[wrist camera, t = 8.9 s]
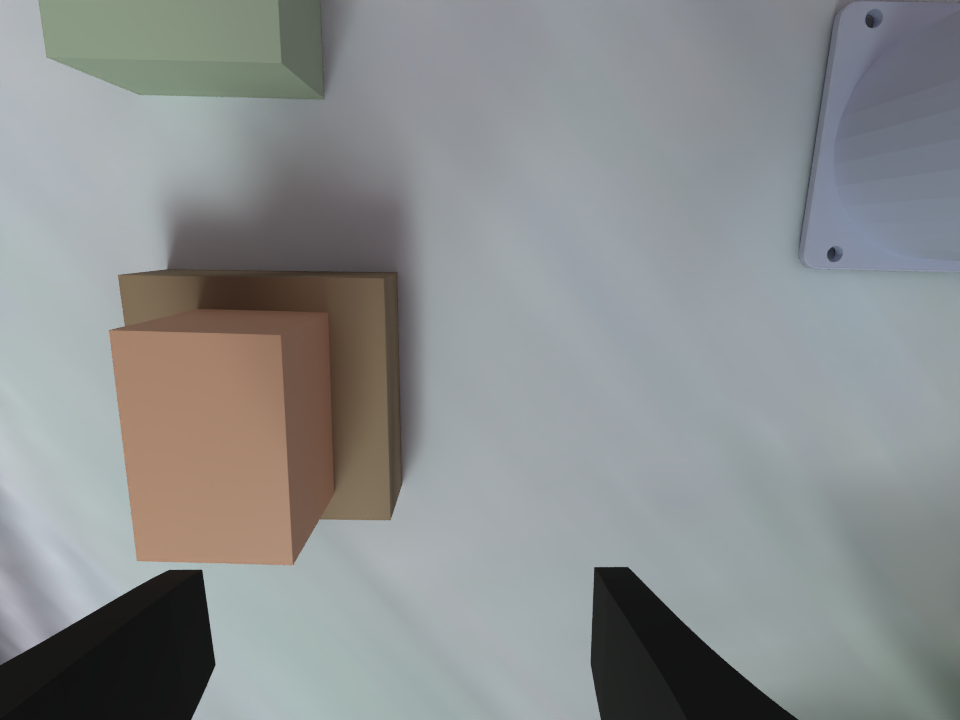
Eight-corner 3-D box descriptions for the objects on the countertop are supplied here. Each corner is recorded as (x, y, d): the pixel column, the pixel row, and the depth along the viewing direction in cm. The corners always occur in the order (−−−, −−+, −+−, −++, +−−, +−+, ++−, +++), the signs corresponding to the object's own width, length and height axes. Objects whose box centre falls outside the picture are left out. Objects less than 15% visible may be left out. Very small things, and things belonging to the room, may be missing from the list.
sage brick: (319, -40, 17) (271, -121, 13) (325, 100, 18) (281, 63, 14) (126, -44, 17) (20, -127, 13) (142, 95, 18) (46, 57, 14)
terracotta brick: (334, 494, 18) (293, 565, 14) (212, 490, 18) (137, 561, 14) (328, 312, 17) (280, 335, 13) (196, 308, 17) (109, 330, 13)
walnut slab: (398, 271, 19) (384, 278, 16) (403, 480, 21) (390, 520, 18) (173, 268, 19) (117, 275, 16) (196, 477, 21) (150, 517, 18)
